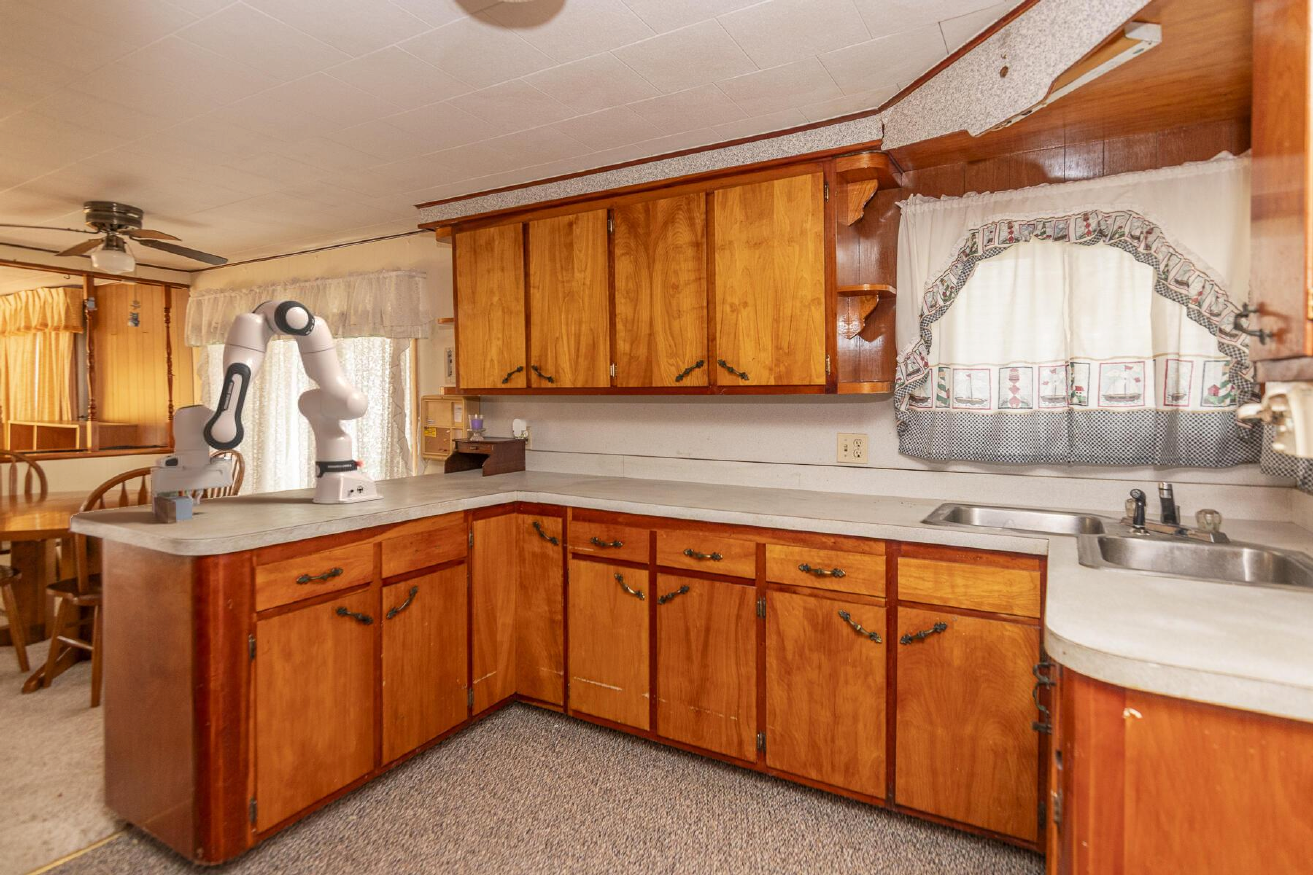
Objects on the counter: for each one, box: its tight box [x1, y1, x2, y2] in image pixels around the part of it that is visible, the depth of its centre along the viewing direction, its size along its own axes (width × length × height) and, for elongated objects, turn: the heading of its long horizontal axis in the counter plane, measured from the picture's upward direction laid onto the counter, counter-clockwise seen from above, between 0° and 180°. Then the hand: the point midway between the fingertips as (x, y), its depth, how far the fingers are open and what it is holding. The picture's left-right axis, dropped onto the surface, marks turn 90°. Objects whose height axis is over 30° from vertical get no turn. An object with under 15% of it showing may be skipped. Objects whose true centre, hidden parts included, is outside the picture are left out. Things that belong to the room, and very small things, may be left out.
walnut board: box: [154, 497, 177, 525], centre depth 201 cm, size 2×16×6 cm, turn 47°
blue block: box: [167, 495, 194, 521], centre depth 203 cm, size 5×7×6 cm
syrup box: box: [149, 466, 180, 515], centre depth 212 cm, size 6×6×14 cm
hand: (194, 504), depth 206 cm, fingers closed
